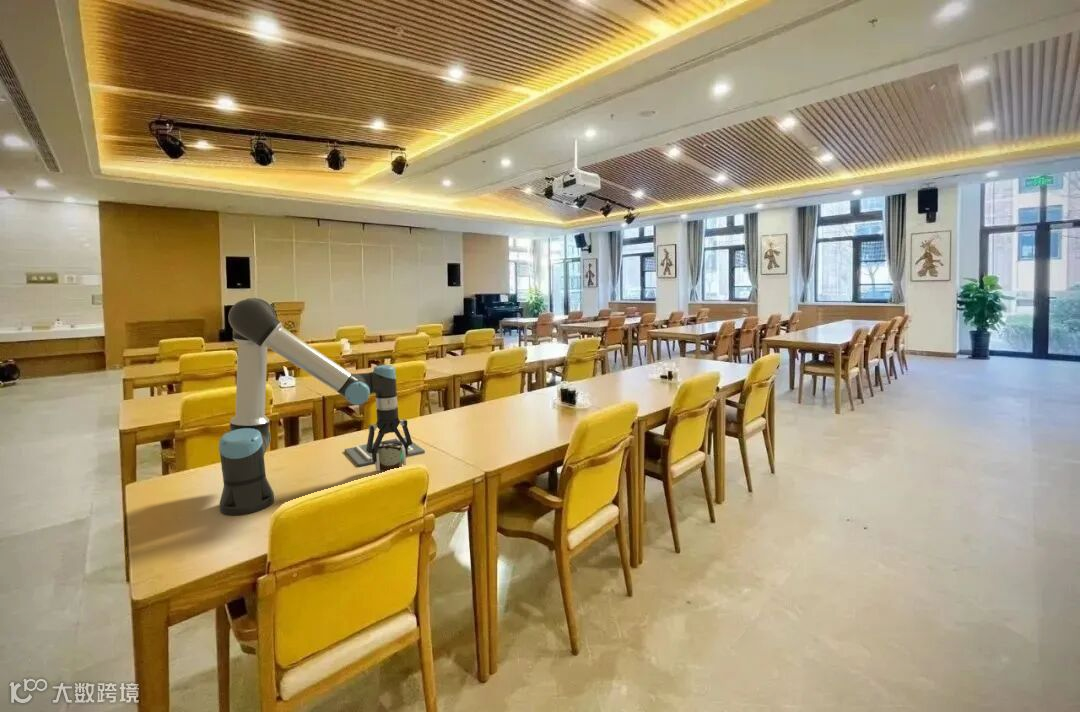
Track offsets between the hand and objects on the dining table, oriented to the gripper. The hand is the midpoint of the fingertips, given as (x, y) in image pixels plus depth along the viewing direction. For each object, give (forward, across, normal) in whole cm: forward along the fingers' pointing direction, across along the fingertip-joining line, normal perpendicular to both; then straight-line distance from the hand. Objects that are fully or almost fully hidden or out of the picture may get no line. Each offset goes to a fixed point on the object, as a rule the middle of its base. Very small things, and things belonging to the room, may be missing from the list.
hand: (391, 466), depth 194 cm
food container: (+1, 0, 0) cm, 1 cm away
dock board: (+1, +4, +21) cm, 21 cm away
